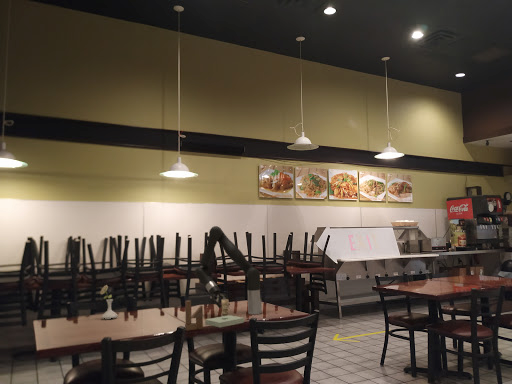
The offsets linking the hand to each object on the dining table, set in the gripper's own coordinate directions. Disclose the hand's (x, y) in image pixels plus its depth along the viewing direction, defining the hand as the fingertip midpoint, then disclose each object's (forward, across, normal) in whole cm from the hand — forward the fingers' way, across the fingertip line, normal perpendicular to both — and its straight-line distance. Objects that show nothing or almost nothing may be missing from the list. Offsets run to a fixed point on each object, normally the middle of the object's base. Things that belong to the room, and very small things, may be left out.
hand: (224, 306), depth 299 cm
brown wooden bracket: (+11, -36, +1) cm, 37 cm away
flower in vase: (-48, -44, +60) cm, 89 cm away
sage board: (+14, -12, -2) cm, 19 cm away
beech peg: (+6, 0, +6) cm, 8 cm away
